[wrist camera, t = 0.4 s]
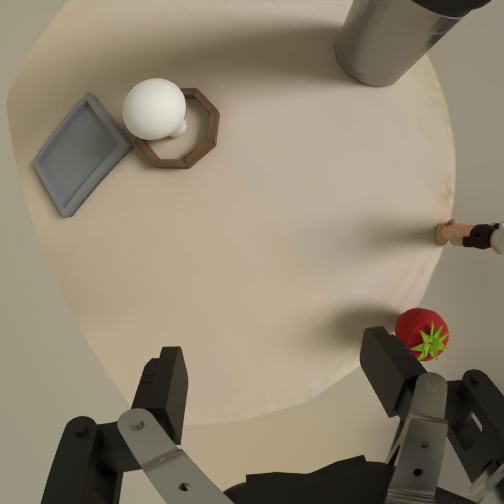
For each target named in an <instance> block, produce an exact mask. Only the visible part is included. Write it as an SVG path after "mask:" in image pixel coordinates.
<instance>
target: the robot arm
mask: <svg viewBox="0 0 504 504" xmlns="http://www.w3.org/2000/svg"><path fill="white" fill-rule="evenodd" d="M490 1H491V0H353V3H352V5H351V8H350V10H349V13H348V15H347V18H346V20H345V23H344V25H343V28H342V30H341V33H340V35H339V38H338V40H337V43H336V48H335V49H336V56H337V59H338V61H339V63H340V64H341V66H342V67H343V68H344V70H345V71H346V72H347V73H348V74H349V75H351V76H352V77H353V78H355V79H356V80H358V81H360V82H362V83H364V84H367V85H370V86H375V87H384V86H389V85H392V84H393V83H395V82H396V81H397V80H398V79H399V78H400V77H401V76H402V75H403V74H404V73H405V72H406V71H408V70H409V69H410V68H411V67H412V66H413V65H414V64H415V63H416V62H417V61H418V60H419V59H420V58H421V57H422V56H423V55H424V54H425V53H426V52H427V51H428V50H429V49H430V48H431V47H432V46H434V44H436V43H437V42H438V41H439V40H440V39H441V38H442V37H443V36H444V35H445V34H446V33H447V32H448V31H449V30H450V29H451V28H452V27H453V26H454V25H455V24H456V23H458V22H459V21H460V20H461V19H462V18H463V17H464V16H465V15H466V14H468V13H469V12H470V11H471V10H473V9H477V8H480V7H483V6H484V5H486V4H487V3H489V2H490ZM360 364H361V367H362V369H363V371H364V373H365V375H366V376H367V378H368V380H369V382H370V383H371V385H372V387H373V389H374V391H375V393H376V394H377V396H378V398H379V400H380V402H381V403H382V405H383V407H384V409H385V411H386V413H387V415H388V417H389V418H391V417H394V416H397V415H399V417H400V420H399V423H398V426H397V429H396V432H395V436H394V439H393V442H392V445H391V448H390V451H389V453H388V456H387V458H386V460H385V462H384V463H382V462H371V461H367V462H366V459H365V457H364V455H361V456H357V457H353V458H350V459H345V460H342V461H337V462H335V463H333V464H330V465H328V466H326V467H324V468H321V469H319V470H317V471H314V472H312V473H308V474H300V473H282V472H272V473H262V474H250V475H246V482H243V483H240V484H237V485H235V486H232V487H231V488H229V489H227V490H225V491H224V492H221V490H220V489H219V488H218V487H217V486H216V485H215V484H214V483H213V482H212V481H211V480H210V479H209V478H208V477H207V476H206V475H205V474H204V473H203V472H202V471H201V470H200V469H199V468H198V467H197V465H196V464H195V463H194V462H193V461H192V460H191V459H190V457H189V456H188V455H187V454H186V453H185V452H184V451H183V450H182V449H178V448H177V446H176V445H180V444H181V437H182V428H183V421H184V413H185V405H186V398H187V390H188V374H187V370H186V366H185V362H184V357H183V353H182V349H181V347H180V346H175V347H163V348H162V350H161V354H160V357H159V358H152V359H151V360H150V361H149V362H148V363H147V364H146V365H145V367H144V370H143V373H142V376H141V379H140V383H139V385H138V388H137V391H136V394H135V398H134V401H133V404H132V407H131V409H130V410H128V411H126V412H124V413H123V414H122V415H121V416H120V417H119V419H118V421H116V422H112V423H105V424H98V425H97V424H96V423H95V421H94V420H93V419H91V418H89V417H86V416H79V417H76V418H74V419H72V420H71V421H69V422H68V423H67V425H66V427H65V430H64V432H63V435H62V438H61V440H60V443H59V446H58V449H57V451H56V455H55V457H54V460H53V463H52V466H51V470H50V473H49V476H48V479H47V483H46V487H45V490H44V494H43V497H42V501H41V504H119V499H120V492H121V484H122V478H123V472H127V471H133V470H140V469H143V471H144V473H145V474H146V476H147V477H148V478H149V480H150V481H151V483H152V484H153V485H154V487H155V488H156V490H157V491H158V492H159V494H160V495H161V496H162V497H163V499H164V500H165V502H166V503H167V504H504V396H503V395H502V393H501V392H500V391H499V390H498V388H497V387H496V386H495V385H494V383H493V382H492V381H491V380H490V378H489V377H488V376H487V375H486V374H485V373H484V372H482V371H480V370H475V369H474V370H473V369H472V370H468V371H466V372H465V374H464V375H463V377H462V379H461V380H456V381H446V380H445V378H444V377H442V376H441V375H439V374H437V373H432V372H427V371H426V370H425V368H424V367H423V366H422V364H421V363H420V362H419V361H418V359H417V358H416V357H415V356H414V354H412V352H411V351H410V349H409V348H407V346H406V344H405V343H404V342H403V341H402V340H401V339H400V338H398V337H396V336H395V335H393V334H392V335H389V333H388V332H387V331H386V330H385V328H384V327H383V326H376V327H371V328H366V329H365V331H364V335H363V341H362V346H361V352H360ZM473 413H474V414H475V415H476V417H477V418H478V420H479V421H480V423H481V425H482V432H481V430H480V429H479V427H478V426H477V424H476V422H475V421H474V420H473V418H472V415H473ZM447 437H448V439H449V441H450V442H451V444H452V446H453V448H454V450H455V452H456V453H457V455H458V457H459V459H460V461H461V463H462V465H463V467H464V469H465V471H466V473H467V475H468V477H469V479H470V481H471V483H472V484H471V486H470V495H469V497H468V499H467V498H464V497H462V496H459V495H456V494H454V493H451V492H449V491H446V490H444V489H442V488H439V487H437V483H438V479H439V474H440V470H441V465H442V461H443V456H444V450H445V444H446V438H447Z"/></svg>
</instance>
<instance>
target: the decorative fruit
mask: <svg viewBox="0 0 504 504" xmlns="http://www.w3.org/2000/svg"><path fill="white" fill-rule="evenodd" d="M395 335H396V337H398V338H400V339H401V340H402V341H403V342H404V343H405V344H406V346H407V348H409V349H410V351H411V352H412V354H414V356H415V357H416V358H417V359H418V361H428V360H431V359H433V358H435V359H436V360H437V356H438V355H439V354H440V353H442V351H443V350H444V349H448V348H447V347H446V345H447V342H448V337H449V332H448V328H447V325H446V323H445V322H444V321H443V319H442V318H441V317H440V316H439V315H438V314H437V313H435V312H433V311H431V310H427V309H422V308H414V309H410V310H408V311H406V312H404V313H403V314H402V315H401V316H400V317H399V319H398V321H397V323H396V326H395Z"/></svg>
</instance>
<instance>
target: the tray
mask: <svg viewBox="0 0 504 504" xmlns="http://www.w3.org/2000/svg"><path fill="white" fill-rule="evenodd" d="M133 147H134V146H133V144H132V143H131V142H130V141H129V139H128V138H127V137H126V136H125V134H124V133H123V132H122V130H121V129H120V128H119V127H118V125H117V124H116V123H115V121H114V120H113V119H112V117H111V116H110V115H109V114H108V112H107V111H106V110H105V108H104V107H103V106H102V104H101V103H100V102H99V101H98V99H97V98H96V97H95V96H94V95H92V94H90V93H89V92H87V93H86V95H85V96H84V97H83V98H82V99H81V100H80V101H79V102H78V103H77V105H76V106H75V107H74V108H73V109H72V110H71V111H70V113H69V114H68V115H67V116H66V117H65V119H64V120H63V121H62V122H61V124H60V125H59V126H58V127H57V129H56V130H55V131H54V132H53V134H52V135H51V136H50V138H49V139H48V140H47V142H46V143H45V144H44V146H43V147H42V149H41V150H40V151H39V153H38V154H37V156H36V157H35V159H34V160H33V162H32V163H33V165H34V167H35V168H36V170H37V172H38V174H39V176H40V178H41V180H42V181H43V183H44V185H45V187H46V189H47V190H48V192H49V194H50V196H51V197H52V199H53V201H54V202H55V204H56V206H57V207H58V209H59V211H60V212H61V214H62V216H63V217H72V216H73V215H74V214H75V213H76V211H77V210H78V209H79V208H80V206H81V205H82V204H83V203H84V201H85V200H86V199H87V198H88V197H89V195H90V194H91V193H92V192H93V191H94V189H95V188H96V187H97V186H98V185H99V184H100V183H101V181H102V180H103V179H104V178H105V177H106V176H107V175H108V174H109V172H110V171H111V170H112V169H113V168H114V167H115V166H116V165H117V164H118V163H119V162H120V161H121V160H122V159H123V157H124V156H125V155H126V154H127V153H128V152H129V151H130V150H131V149H132V148H133Z"/></svg>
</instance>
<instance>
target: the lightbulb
mask: <svg viewBox="0 0 504 504" xmlns="http://www.w3.org/2000/svg"><path fill="white" fill-rule="evenodd" d="M185 111H186V104H185V98H184V95H183V93H182V91H181V90H180V89H179V87H178V86H176V85H175V84H174V83H172V82H170V81H168V80H165V79H160V78H152V79H148V80H145V81H142V82H140V83H139V84H137V85H136V86H134V87H133V88H132V89H131V90H130V91H129V93H128V94H127V96H126V98H125V100H124V103H123V106H122V117H123V121H124V124H125V125H126V127H127V129H128V130H129V131H130V132H131V133H132V134H133V135H135V136H137V137H139V138H141V139H145V140H157V139H161V138H164V137H166V136H171V137H180V136H181V135H183V134H184V132H185V131H186V128H187V124H186V122H185V120H184V115H185Z"/></svg>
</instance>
